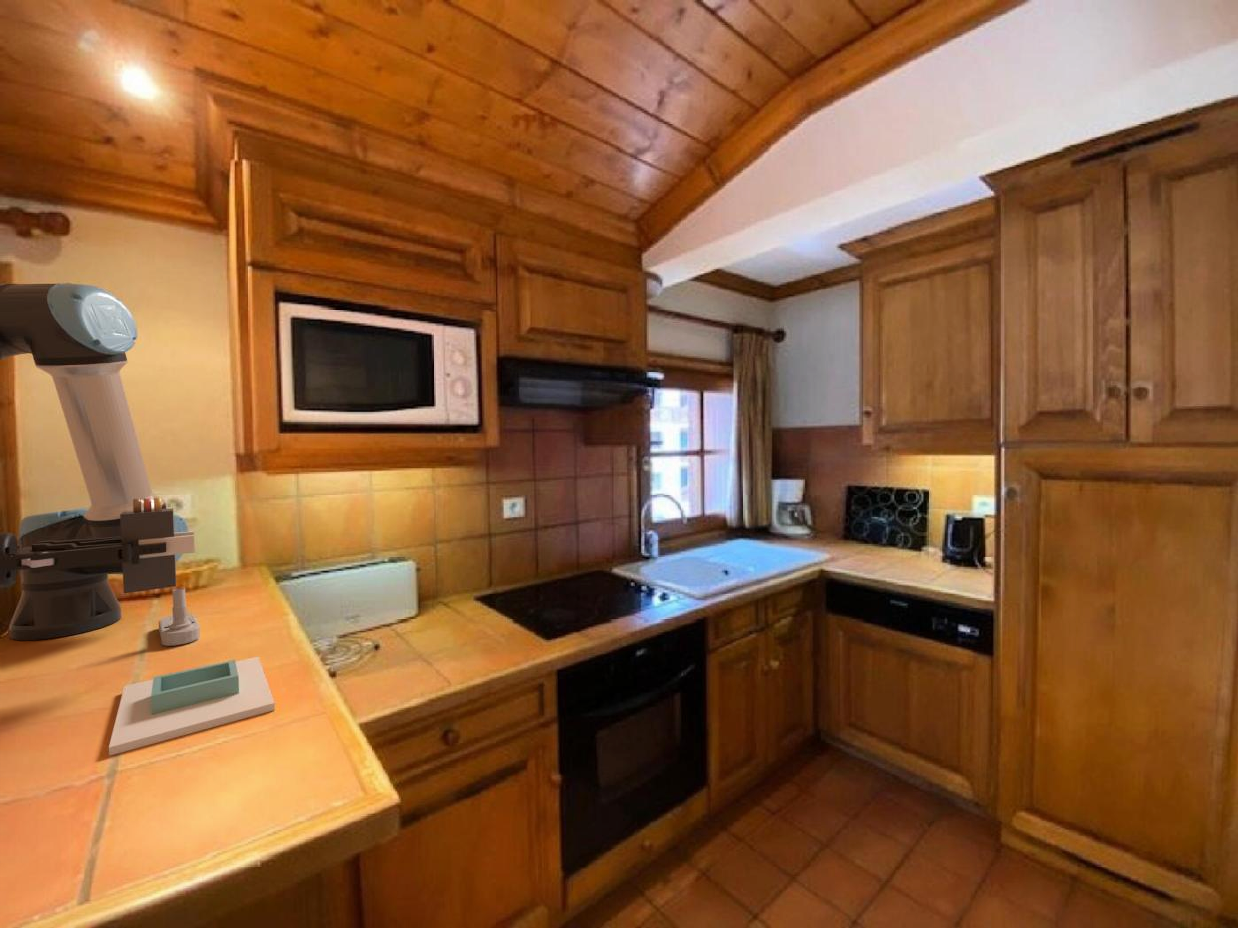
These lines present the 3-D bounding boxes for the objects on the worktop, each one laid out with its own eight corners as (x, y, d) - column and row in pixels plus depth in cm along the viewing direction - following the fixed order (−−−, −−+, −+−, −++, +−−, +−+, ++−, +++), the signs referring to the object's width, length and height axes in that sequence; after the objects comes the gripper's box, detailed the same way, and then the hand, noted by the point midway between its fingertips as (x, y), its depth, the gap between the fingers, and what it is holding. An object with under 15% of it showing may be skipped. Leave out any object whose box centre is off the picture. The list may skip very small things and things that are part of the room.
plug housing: (126, 587, 82) (122, 498, 81) (176, 581, 86) (172, 496, 85) (123, 593, 79) (119, 501, 78) (176, 586, 82) (172, 498, 82)
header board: (124, 692, 75) (123, 668, 75) (258, 662, 86) (258, 641, 85) (109, 755, 60) (107, 725, 60) (274, 710, 70) (273, 684, 70)
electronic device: (191, 576, 106) (199, 588, 95) (193, 624, 106) (201, 642, 95) (155, 581, 102) (160, 594, 91) (158, 631, 102) (162, 650, 91)
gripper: (-10, 578, 77) (194, 555, 92) (-51, 605, 64) (195, 574, 79) (-13, 527, 77) (192, 513, 92) (-54, 545, 64) (193, 524, 79)
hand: (193, 541), depth 85 cm, fingers closed on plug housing, 4 cm apart
